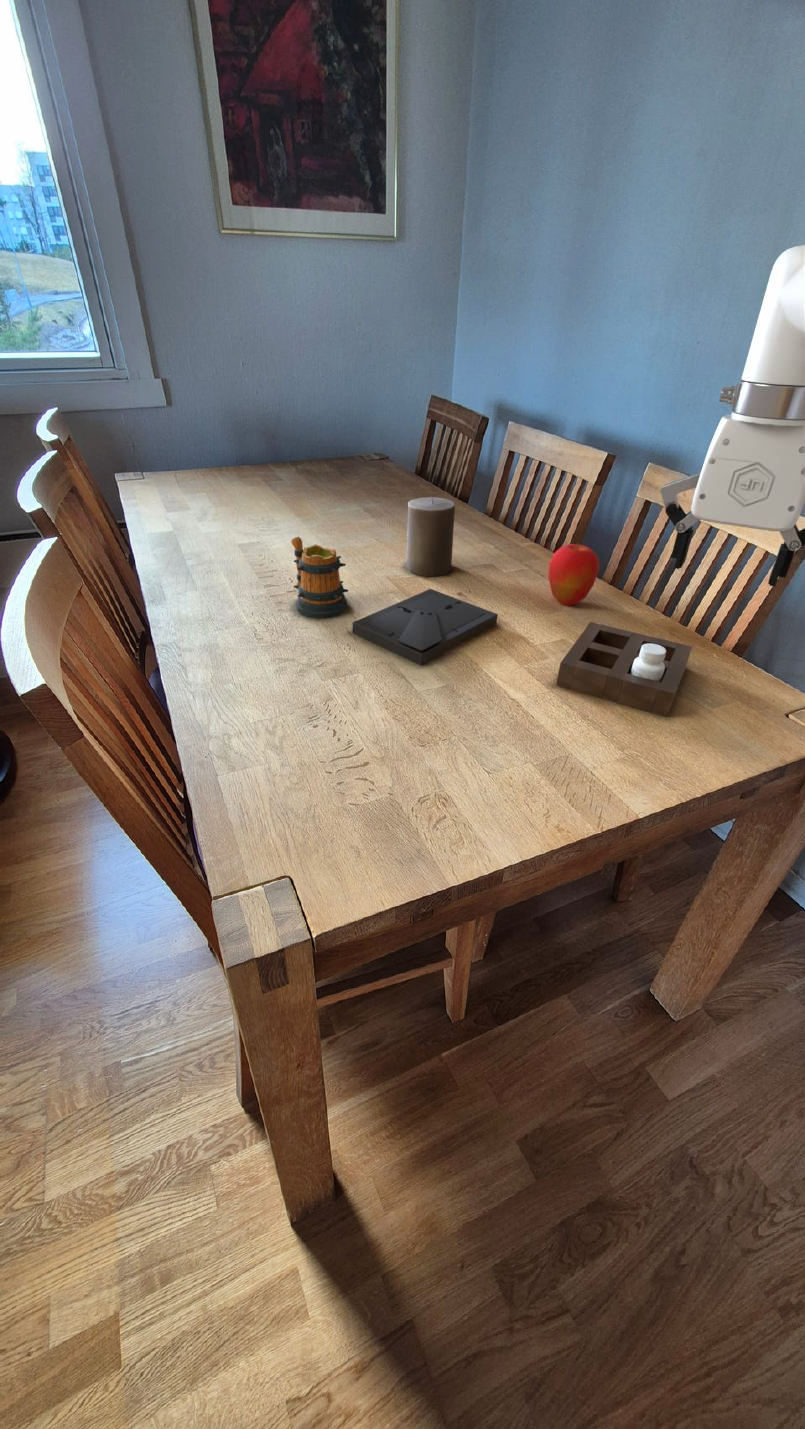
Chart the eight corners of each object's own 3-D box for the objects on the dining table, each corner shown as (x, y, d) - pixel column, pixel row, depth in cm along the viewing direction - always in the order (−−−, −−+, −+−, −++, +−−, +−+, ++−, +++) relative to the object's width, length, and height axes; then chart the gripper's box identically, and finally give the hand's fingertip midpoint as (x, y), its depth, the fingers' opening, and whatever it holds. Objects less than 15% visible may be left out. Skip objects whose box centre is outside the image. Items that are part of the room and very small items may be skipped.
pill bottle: (647, 685, 96) (660, 640, 92) (661, 700, 93) (675, 655, 89) (620, 687, 96) (632, 642, 91) (633, 702, 92) (646, 656, 88)
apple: (596, 613, 118) (609, 551, 111) (548, 611, 118) (559, 549, 111) (585, 593, 125) (597, 534, 118) (540, 591, 125) (549, 532, 118)
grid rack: (685, 668, 101) (692, 646, 99) (666, 717, 89) (674, 693, 87) (585, 642, 108) (590, 621, 105) (556, 685, 96) (560, 662, 93)
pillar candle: (452, 577, 130) (457, 504, 122) (405, 575, 130) (407, 502, 122) (450, 560, 138) (455, 491, 130) (406, 559, 138) (408, 489, 130)
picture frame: (420, 665, 100) (496, 624, 112) (421, 650, 98) (498, 610, 111) (352, 633, 108) (429, 598, 121) (352, 618, 107) (430, 585, 119)
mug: (360, 608, 117) (359, 548, 110) (316, 624, 111) (312, 561, 104) (318, 587, 124) (315, 529, 118) (275, 600, 118) (269, 541, 112)
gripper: (676, 401, 61) (637, 568, 71) (885, 417, 54) (811, 601, 64) (689, 393, 67) (651, 550, 76) (880, 407, 60) (813, 578, 69)
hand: (724, 573), depth 70 cm, fingers open, 9 cm apart
